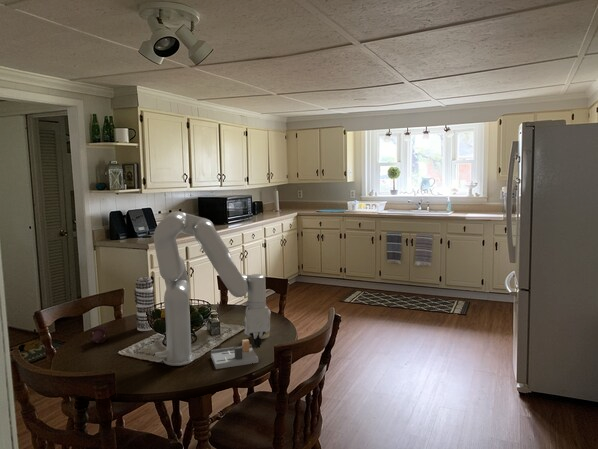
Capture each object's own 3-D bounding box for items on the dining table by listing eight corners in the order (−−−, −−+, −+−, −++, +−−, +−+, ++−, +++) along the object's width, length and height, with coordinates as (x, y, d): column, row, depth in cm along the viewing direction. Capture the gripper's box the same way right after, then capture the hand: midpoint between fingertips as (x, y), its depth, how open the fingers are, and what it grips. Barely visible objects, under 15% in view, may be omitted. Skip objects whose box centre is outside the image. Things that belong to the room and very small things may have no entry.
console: (215, 369, 178) (215, 361, 177) (211, 357, 189) (210, 350, 189) (258, 362, 184) (258, 355, 183) (251, 351, 195) (251, 344, 194)
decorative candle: (133, 327, 224) (130, 277, 221) (151, 323, 230) (149, 274, 227) (140, 332, 218) (137, 281, 214) (158, 328, 223) (156, 278, 220)
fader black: (236, 359, 181) (236, 349, 181) (234, 356, 184) (234, 346, 184) (242, 358, 182) (242, 348, 181) (240, 355, 185) (240, 345, 184)
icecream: (102, 334, 198) (114, 325, 213) (85, 330, 198) (99, 322, 212) (98, 350, 198) (111, 340, 213) (81, 346, 198) (95, 336, 213)
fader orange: (243, 351, 189) (243, 342, 188) (242, 349, 192) (241, 339, 191) (249, 351, 190) (249, 341, 189) (247, 348, 193) (247, 338, 192)
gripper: (241, 308, 184) (241, 352, 186) (276, 304, 189) (277, 347, 191) (237, 303, 191) (237, 345, 193) (271, 300, 196) (272, 341, 198)
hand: (257, 346), depth 192 cm, fingers closed
